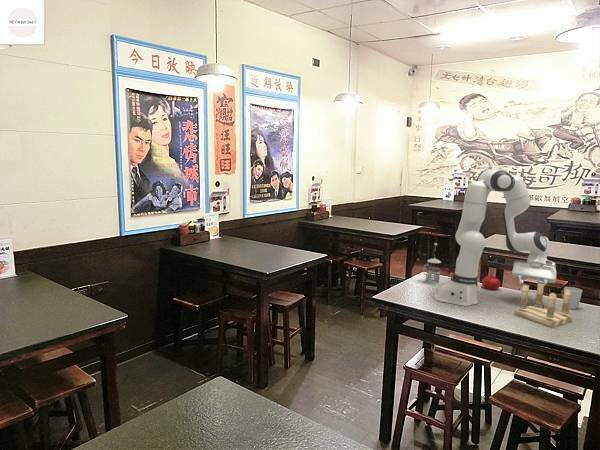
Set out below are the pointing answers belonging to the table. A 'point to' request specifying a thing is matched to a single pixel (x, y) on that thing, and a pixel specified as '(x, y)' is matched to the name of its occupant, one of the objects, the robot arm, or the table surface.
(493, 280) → the pomegranate
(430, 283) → the french press
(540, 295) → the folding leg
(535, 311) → the stool
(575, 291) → the cup
